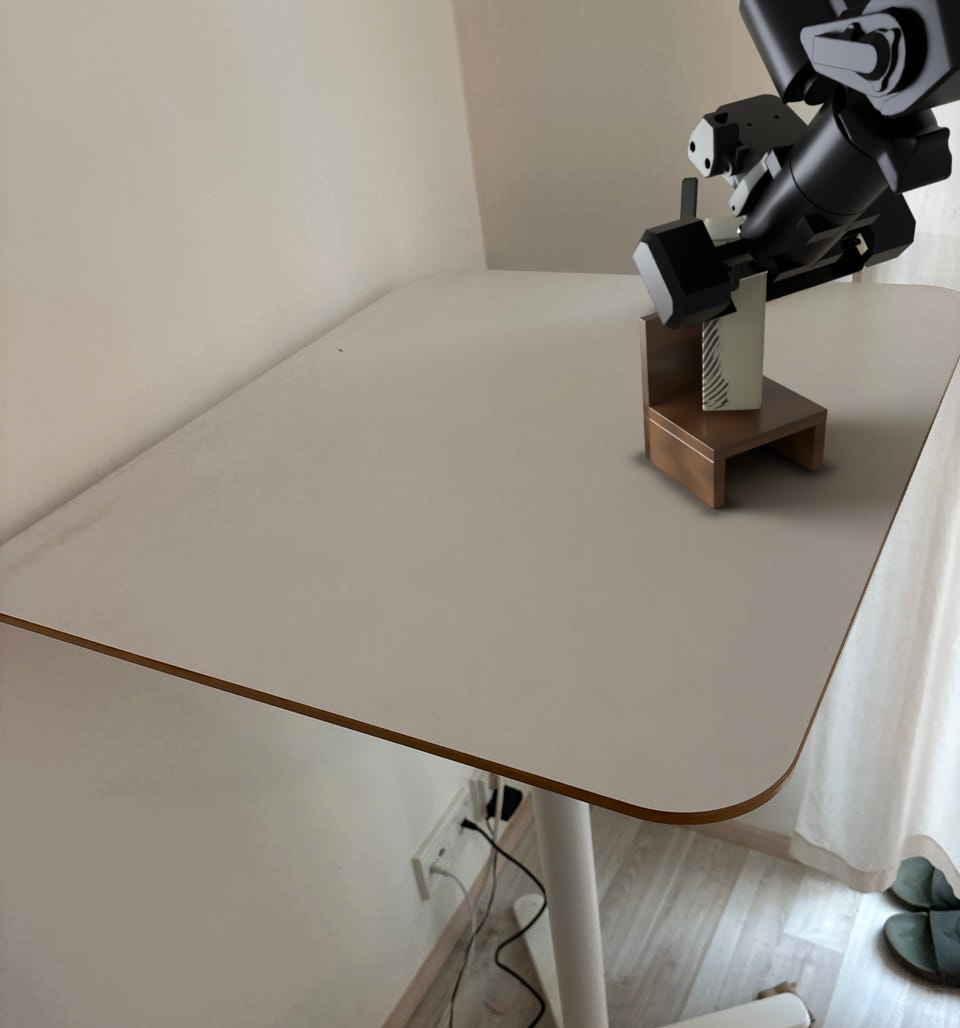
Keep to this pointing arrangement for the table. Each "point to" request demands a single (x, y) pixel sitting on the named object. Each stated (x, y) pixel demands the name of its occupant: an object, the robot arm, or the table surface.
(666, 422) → the wooden doll chair
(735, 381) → the box
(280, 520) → the table surface
